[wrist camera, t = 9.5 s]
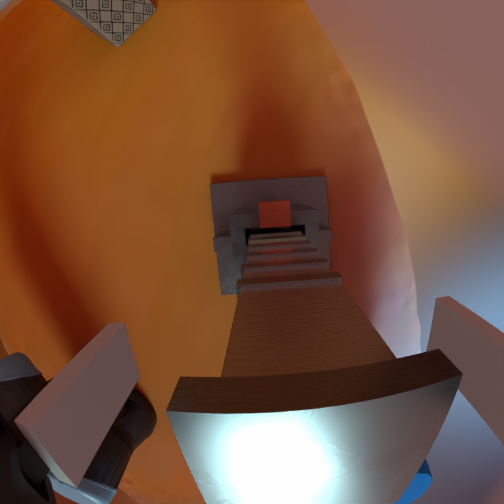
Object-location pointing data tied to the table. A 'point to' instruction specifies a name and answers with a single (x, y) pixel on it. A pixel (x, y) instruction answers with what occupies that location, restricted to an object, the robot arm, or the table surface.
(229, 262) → the stand base
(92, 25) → the lamp
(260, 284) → the column
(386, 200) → the table surface
